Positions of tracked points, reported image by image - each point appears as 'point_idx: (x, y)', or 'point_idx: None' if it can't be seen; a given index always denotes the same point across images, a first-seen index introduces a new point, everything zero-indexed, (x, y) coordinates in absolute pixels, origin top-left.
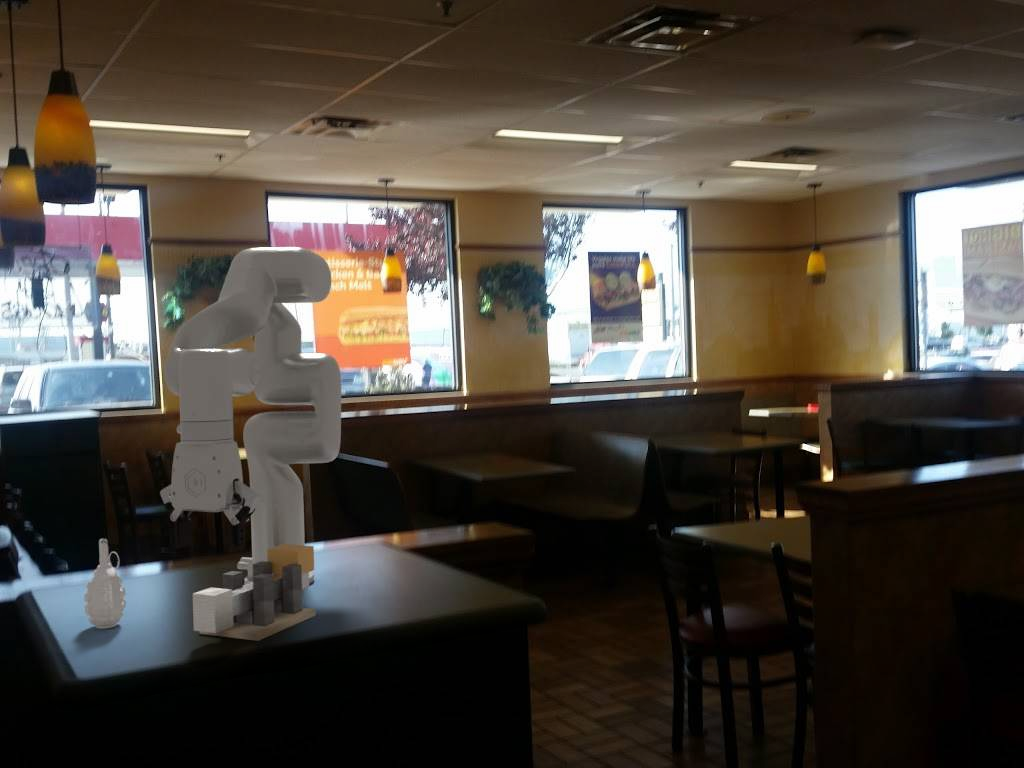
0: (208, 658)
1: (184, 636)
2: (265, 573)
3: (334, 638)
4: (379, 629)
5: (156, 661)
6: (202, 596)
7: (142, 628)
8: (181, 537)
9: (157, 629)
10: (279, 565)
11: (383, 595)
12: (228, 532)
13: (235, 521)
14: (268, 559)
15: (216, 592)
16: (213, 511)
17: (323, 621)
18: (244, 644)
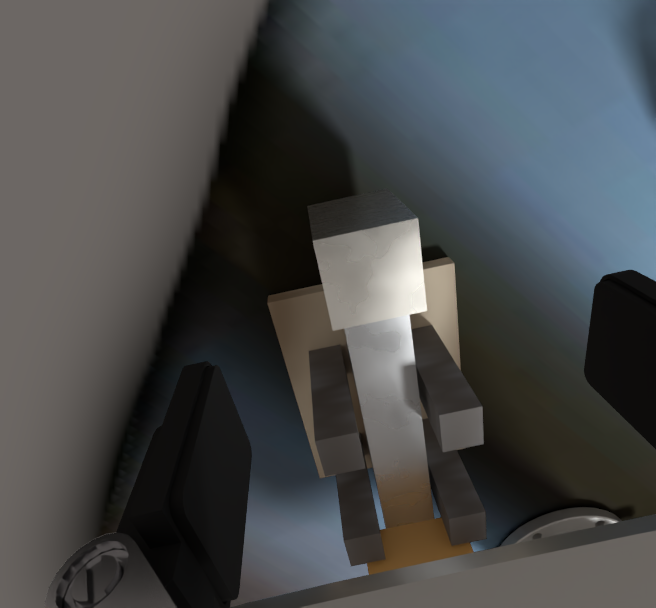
0: (246, 122)
1: (467, 221)
2: (440, 502)
3: (139, 394)
4: (123, 473)
5: (354, 5)
6: (368, 226)
7: (626, 207)
8: (642, 330)
9: (581, 223)
10: (427, 544)
11: (313, 586)
12: (174, 453)
13: (80, 574)
14: (469, 551)
15: (349, 277)
16: (251, 605)
17: (270, 452)
18: (273, 259)
